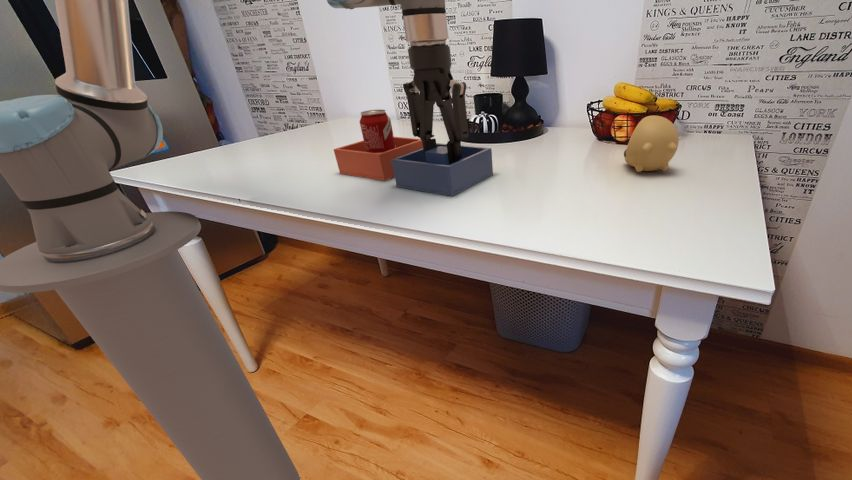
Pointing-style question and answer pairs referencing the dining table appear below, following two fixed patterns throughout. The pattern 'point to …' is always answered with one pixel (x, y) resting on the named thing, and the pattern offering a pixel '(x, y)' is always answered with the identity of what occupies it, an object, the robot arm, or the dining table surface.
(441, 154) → the blue block
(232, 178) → the dining table surface
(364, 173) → the red bin
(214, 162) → the dining table surface
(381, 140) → the soda can
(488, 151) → the blue bin
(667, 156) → the toy pig
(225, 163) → the dining table surface
